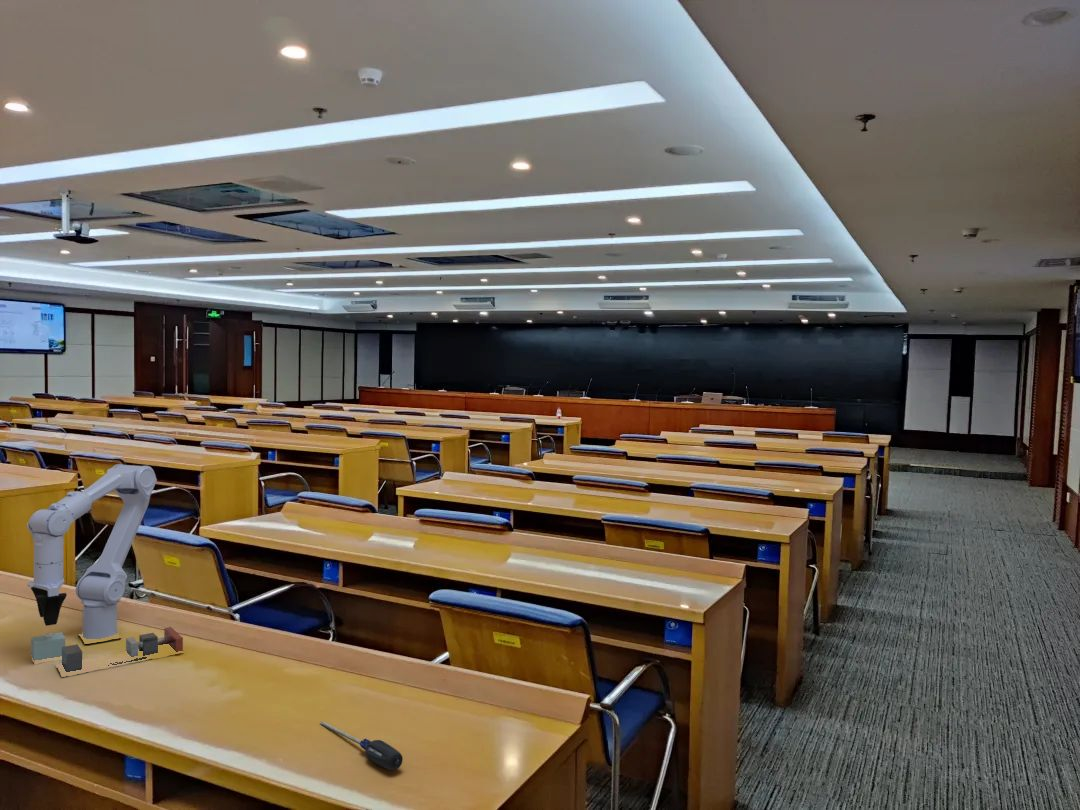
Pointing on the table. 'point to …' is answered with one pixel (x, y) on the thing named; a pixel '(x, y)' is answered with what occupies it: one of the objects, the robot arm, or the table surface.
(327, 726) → the screwdriver
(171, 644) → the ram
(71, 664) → the frame
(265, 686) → the table surface
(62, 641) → the block
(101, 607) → the robot arm
